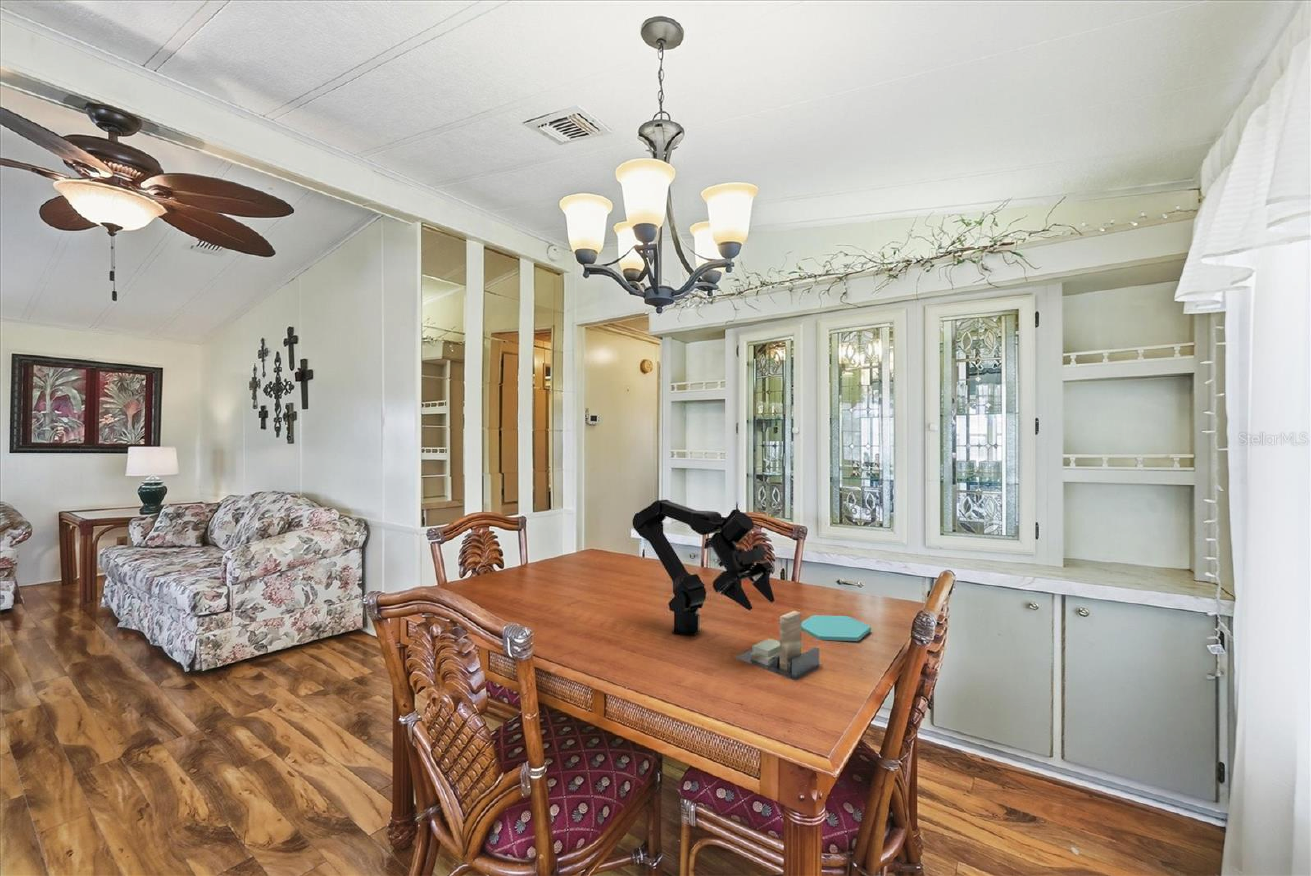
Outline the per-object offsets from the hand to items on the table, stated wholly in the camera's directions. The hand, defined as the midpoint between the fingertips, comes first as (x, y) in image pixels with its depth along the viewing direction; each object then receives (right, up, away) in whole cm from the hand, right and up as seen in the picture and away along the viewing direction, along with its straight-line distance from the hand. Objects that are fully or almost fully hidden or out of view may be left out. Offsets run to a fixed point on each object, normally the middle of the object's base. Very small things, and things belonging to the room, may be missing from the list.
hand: (762, 605), depth 132 cm
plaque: (+25, -14, +21) cm, 35 cm away
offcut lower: (+1, -12, -2) cm, 12 cm away
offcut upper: (+1, -11, -1) cm, 11 cm away
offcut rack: (+3, -13, -3) cm, 14 cm away
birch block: (+5, -12, -6) cm, 15 cm away
